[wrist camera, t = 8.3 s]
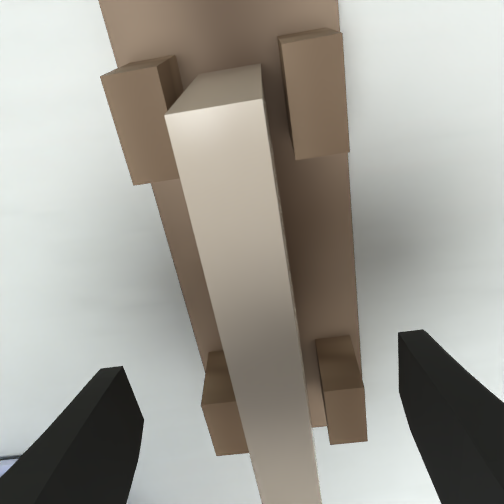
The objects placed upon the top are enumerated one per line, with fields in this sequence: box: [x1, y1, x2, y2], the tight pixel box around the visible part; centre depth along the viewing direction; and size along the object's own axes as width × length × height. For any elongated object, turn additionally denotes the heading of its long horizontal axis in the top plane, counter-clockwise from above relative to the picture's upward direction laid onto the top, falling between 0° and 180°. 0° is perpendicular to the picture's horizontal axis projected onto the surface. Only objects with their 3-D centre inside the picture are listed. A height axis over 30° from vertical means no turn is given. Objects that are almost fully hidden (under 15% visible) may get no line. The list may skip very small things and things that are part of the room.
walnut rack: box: [98, 0, 368, 456], centre depth 17 cm, size 7×20×4 cm, turn 9°
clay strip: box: [164, 63, 322, 504], centre depth 15 cm, size 2×14×6 cm, turn 9°
